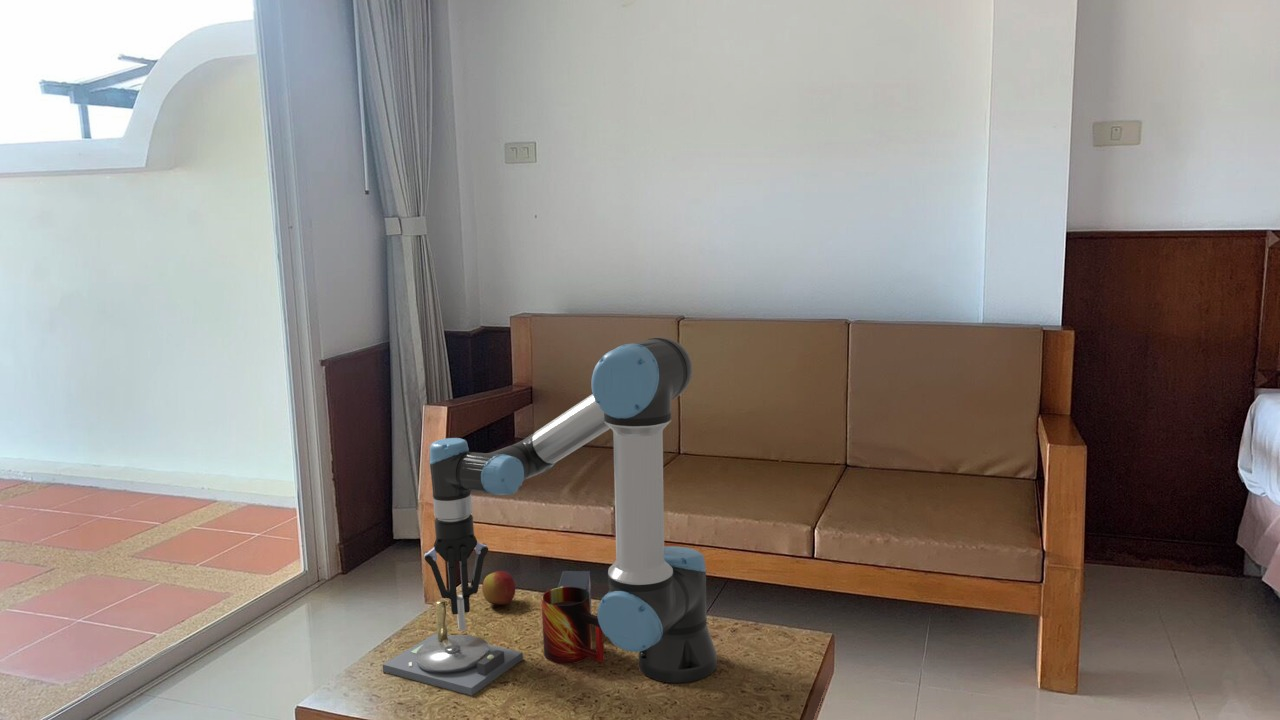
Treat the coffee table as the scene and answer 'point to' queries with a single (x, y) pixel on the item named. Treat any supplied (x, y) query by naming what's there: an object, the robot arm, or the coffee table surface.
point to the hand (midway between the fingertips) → (461, 627)
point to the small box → (576, 580)
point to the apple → (499, 588)
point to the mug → (569, 626)
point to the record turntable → (455, 681)
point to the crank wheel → (450, 648)
